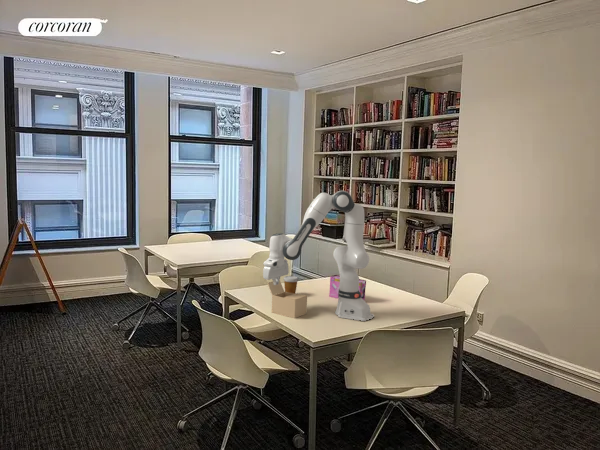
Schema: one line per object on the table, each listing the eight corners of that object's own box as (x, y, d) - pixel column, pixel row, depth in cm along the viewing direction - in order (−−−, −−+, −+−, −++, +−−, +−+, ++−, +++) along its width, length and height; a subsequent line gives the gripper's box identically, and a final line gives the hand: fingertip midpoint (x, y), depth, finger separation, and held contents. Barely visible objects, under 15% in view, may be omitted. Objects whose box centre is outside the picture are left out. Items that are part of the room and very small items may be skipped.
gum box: (367, 301, 317) (368, 280, 315) (361, 303, 311) (362, 282, 309) (334, 294, 331) (336, 274, 329) (328, 296, 324) (329, 276, 323)
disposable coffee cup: (300, 295, 324) (301, 277, 323) (292, 298, 316) (293, 279, 314) (287, 292, 329) (288, 275, 327) (280, 295, 321) (280, 277, 319)
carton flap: (279, 279, 293) (278, 279, 293) (267, 282, 284) (267, 283, 284) (284, 291, 292) (283, 291, 292) (272, 295, 282) (271, 295, 283)
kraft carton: (306, 313, 284) (307, 295, 283) (294, 318, 274) (295, 299, 273) (283, 308, 293) (284, 290, 292) (271, 312, 283) (272, 294, 282)
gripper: (282, 258, 296) (282, 280, 298) (261, 262, 279) (260, 286, 281) (291, 259, 293) (290, 282, 294) (270, 264, 276) (269, 288, 278)
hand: (276, 284), depth 288 cm, fingers closed, pressing on carton flap
